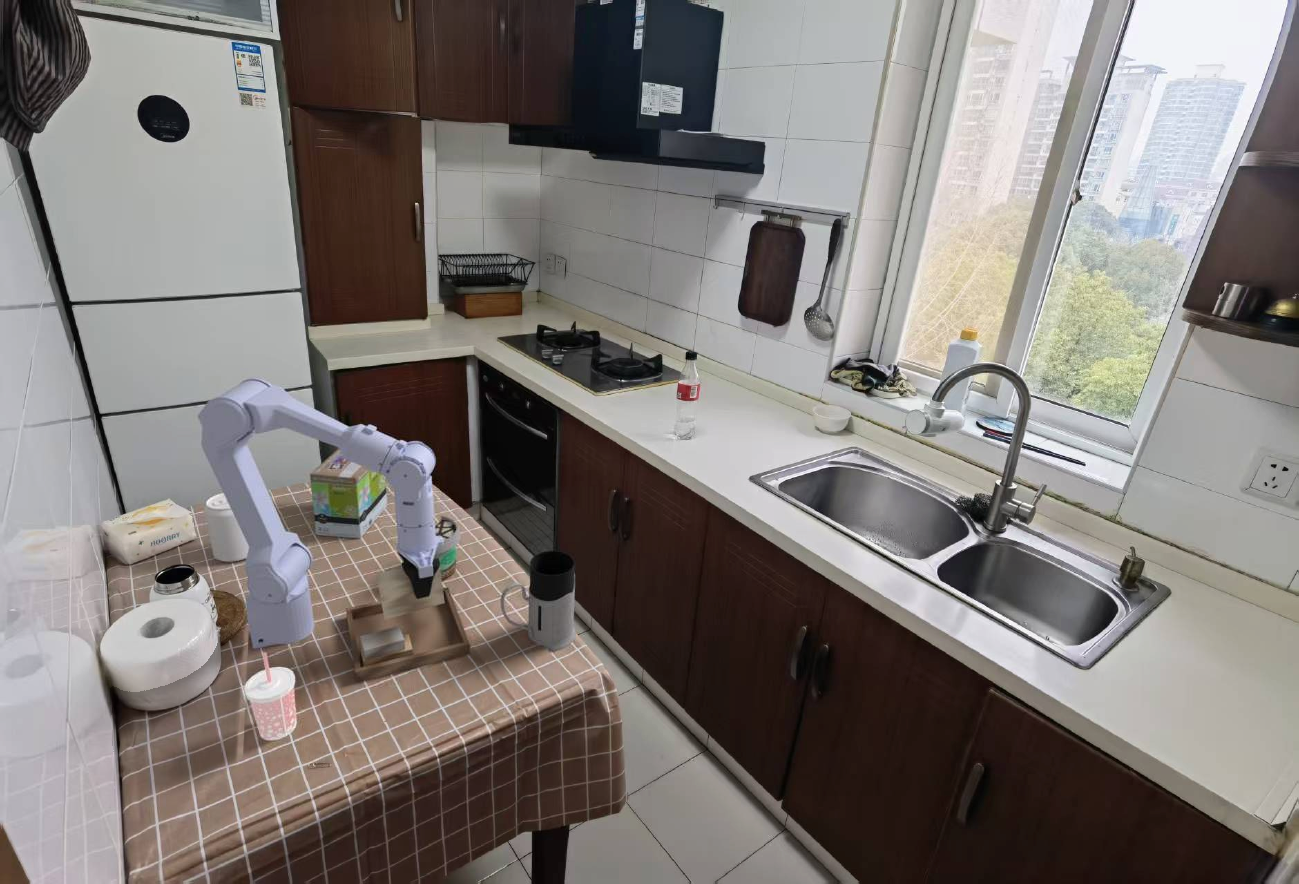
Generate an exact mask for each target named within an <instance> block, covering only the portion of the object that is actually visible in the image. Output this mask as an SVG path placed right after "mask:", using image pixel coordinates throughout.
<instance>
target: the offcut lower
mask: <svg viewBox="0 0 1299 884" xmlns="http://www.w3.org/2000/svg"><path fill="white" fill-rule="evenodd" d="M403 638H404V642H405V650H402V651H398V652H395V653H391V654H388V655H384V656H381V657H377V658H374V659H370V660H367V661H366V660H365V657H364V654H363V650H362V647H361V645H360V647H361V655H362V661H363V667H365V666H370V665H374V664H378V663H382V662H386V661H390V660H394V659H398V658H402V657H406V656H410V655H413V648H412V645H411V641H410V637H409V634H406V635H403Z"/></svg>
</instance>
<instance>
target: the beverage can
mask: <svg viewBox="0 0 1299 884" xmlns="http://www.w3.org/2000/svg"><path fill="white" fill-rule="evenodd" d="M203 510H204V511H203V512H204V517H205V521H206V525H207V529H208V535H209V542H210V545H211V550H212V554H213V557H214V558H215V559H216V560H218V561H221V562H227V563H229V562H239V561H242V560H246V558H247V554H248V550H249V546H248V543H247V541H246V539H245V537H244V535H243V533H242V531H241V529H240V527H239V524H238V522H237V520H236V518H235V516H234V514H233V512H232V510H231V508H230V505H229V503H228V501H227V499H226V497H225V495H224V493H223V492H222V493H218V494H215V495H213V496H211V497H210V498H208V499H207V500H206V503H205V507H204V509H203Z"/></svg>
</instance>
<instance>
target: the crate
mask: <svg viewBox="0 0 1299 884" xmlns="http://www.w3.org/2000/svg"><path fill="white" fill-rule="evenodd" d="M443 594H444V602H445V603H443V604H440V605H436V606H432V607H429V608H425V609H422V610H418V611H414V612H411V613H407V614H403V615H400V616H396V617H392V618H389V619H385V618H384V613H383V609H382V604H381V600H380V601H379V600H378V601H374V602H369V603H365V604H359V605H354V606H351V607H345V612H346V613H345V614H346V619H347V625H348V632H349V633H348V634H349V639H350V647H351V653H352V660H353V667H354V668H353V669H354V675H355V680H356V681H355V682H356V684H358V683H361V682H365V681H369V680H373V679H377V678H381V677H385V676H389V675H393V674H398V673H400V672H405V671H409V670H413V669H417V668H420V667H425V666H428V665H432V664H436V663H440V662H445V661H448V660H453V659H456V658H461V657H463V656H468V655H470V654H471V644H470V641H469V639H468V635H467V633H466V630H465V628H464V626H463V623H462V620H461V617H460V615H459V612H458V610H457V607H456V604H455V602H454V599H453V596H452V593H451V591H450V588H449V587H448V586H447V587H443ZM397 626H399V627H400V630H401V632H402V635H406V634H409V637H410V641H411V645H412V648H413V655H410V656H406V657H402V658H398V659H394V660H390V661H386V662H382V663H378V664H374V665H370V666H365V667H363V661H362V655H361V647H360V645H361V639H360V636H363V635H367V634H371V633H374V632H378V631H382V630H386V629H389V628H393V627H397Z"/></svg>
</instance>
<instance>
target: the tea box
mask: <svg viewBox="0 0 1299 884" xmlns="http://www.w3.org/2000/svg"><path fill="white" fill-rule="evenodd" d="M309 481H310V488H311V499H312V506H313V516H314V527H315V535H317V536H325V537H335V538H336V537H337V538H349V539H350V538H351V539H361V538H362V537H363V535H365V533H366V532H367V531H368V530H369V529H370V527H371V526H373V524H374V522H375V521H376V520H378V518H379V516H380V515H381V514H382V513H383V512H384V510H385V509H386V508H387V507H388V496H387V495H388V494H387V484H386V481H387V479H386V476H384V475H381V474H379V473H377V472H374V471H372V470H370V469H367V468H365V467H363V466H360V465H358V464H356V463H353V462H351V461H349V460H346V459H344V458H343V456H342V454H341V452H340V450H339V448H337V449H336V450H335V451H334V452H333V453H332V454H331V455H330V456H329V457H328V458H326V459H325V460H324V461H323V462H321V464H320V465H318V466H317V467H316V468H315V469H314V470H313V471H311V472H310V473H309Z"/></svg>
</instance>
